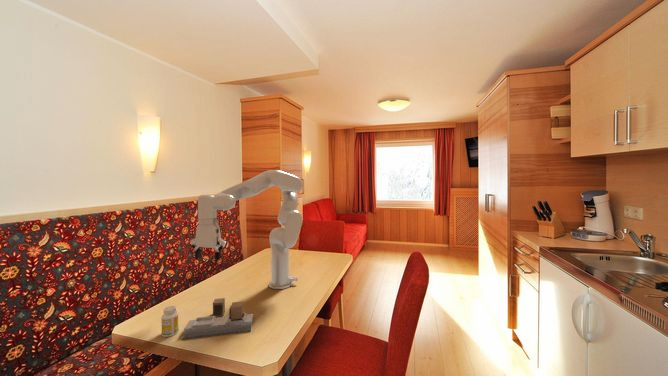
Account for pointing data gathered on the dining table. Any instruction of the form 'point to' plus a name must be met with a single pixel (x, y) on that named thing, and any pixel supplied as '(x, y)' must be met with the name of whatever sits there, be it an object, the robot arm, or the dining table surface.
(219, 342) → the dining table surface
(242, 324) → the rail
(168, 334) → the supplement bottle
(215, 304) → the brown rectangular block
